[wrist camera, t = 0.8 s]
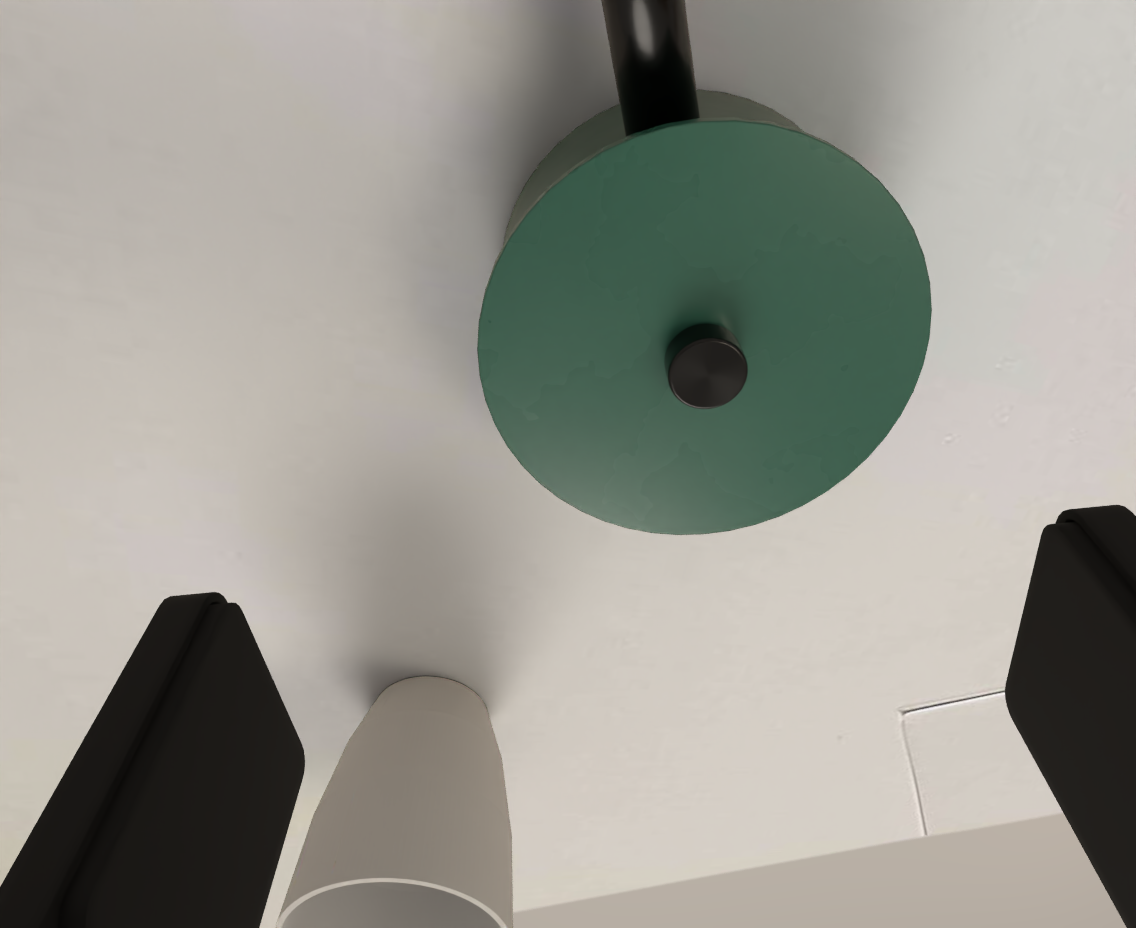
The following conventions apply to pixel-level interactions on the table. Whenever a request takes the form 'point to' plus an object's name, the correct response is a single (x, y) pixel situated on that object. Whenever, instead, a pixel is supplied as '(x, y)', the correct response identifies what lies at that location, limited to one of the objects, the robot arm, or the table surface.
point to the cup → (410, 821)
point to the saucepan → (698, 303)
